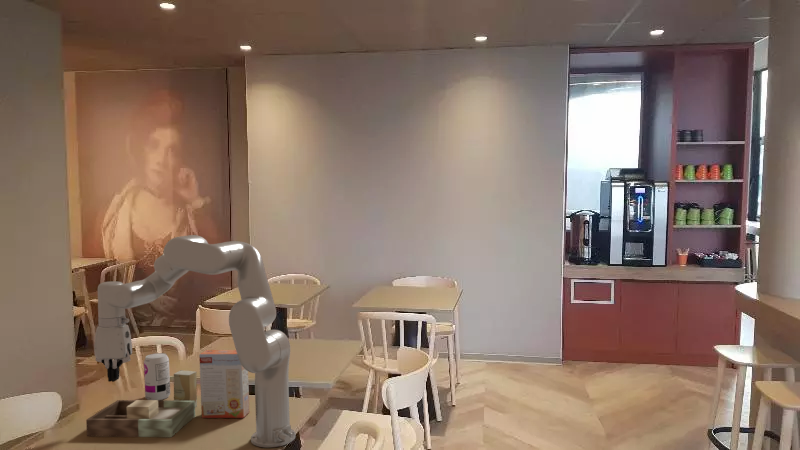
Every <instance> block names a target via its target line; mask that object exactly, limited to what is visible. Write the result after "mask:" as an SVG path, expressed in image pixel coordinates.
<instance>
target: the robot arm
mask: <svg viewBox="0 0 800 450" xmlns="http://www.w3.org/2000/svg"><path fill="white" fill-rule="evenodd" d="M153 268H154V272H152V273H151V274H149V275H148V276H147V277H145V278H144V279H141V280H134V281H132V282H126V283H123V282H122V281H118V280H117V281H114V280H113V281H105V282H101V283H99V284H98V286H97V312H98V320H97V321H98V325H97V326H96V330H95V334H94V345H93V348H94V349H93V351H94V356H95V361H96V362H98V363H101V364H102V365H104V367H105V369H106V373H107V381H108V382H109V383H110V382H116V381H118V380H119V379H120V367H122V365H123V364H125V363H128V362H131V355H132V354H133V344H132V343H133V341H132V336H131V329H130V326H129V325H128V323H130V318H127V317H126V316H127V315H126V309H133V308H136V307H138V306H143V305H146V304H149V303H152V302H154V301H155V300H157V299H158V298H160V297H161V296H163V295H164V294H165V293H167V292H168V291H169V290H171V289H172V287H173V286H174V285H175V283H176V281H178V280H179V279H180V278H182V277H183V276H184V275H186V274H187V273H188V272H190V271H191V272H195V273H199V274H205V275H212V276H213V275H219V274H220V275H221V274H223V273H228V272H231V271H236V272H237V278H236V280H237V281H236V282H237V284H236V285H237V289H238V292H239V295H240V300H238V301H237V302H235V303H234V304H233V305H232V307H231V308H230V311H229V314H228V325H229V330H230V333H231V338H232V341H233V343H234V347H235V350H236V352H237V355H238V358H239V361H240V363H241V365H242V366H243V367H244V368H245V369H246V370H247V371H248V373H252V374H254V394H255V395H254V402H255V425H256V426H255V428H256V432H254V433H253V434H251V437H250V442H251V444H252V445H254V446H256V447H260V448H266V449H267V448H276V447H277V448H278V447H282V446H285V445H289V444H290V443H291V442H293V441H294V440H295V439H296V431H295V430H294V429H292V425H291V424H290V391H289V389H290V387H289V384H290V381H289V366H290V357H291V343H290V340H289V337H288V335H286V333H284V332H283V331H281V330H279V329H269V330H265V327H267V326H269V325H271V324H272V323H273V322H274V321H275V319H276V317H277V307H276V304H275V300H274V298H273V294H272V291H271V287H270V286H271V285H270V283H269V280H268V277H267V273H266V269H265V264H264V261H263V257H262V256H261V254H260V251H258V249H257V248H256V247H255V246H253V245H252V244H250V243H248V242H244V241H238V240H232V241H230V240H229V241H224V242H218V243H209V242H208V240H207V239H205V238H204V237H203V236H200V235H197V234H189V235H183V236H176V237H173V238H171V239H170V240H168V241H167V242H166V243H165V245H164V247H163V254H162V255H161V254H160V256H158V257H157V258H156V259H155V260H154V263H153Z"/></svg>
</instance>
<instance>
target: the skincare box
mask: <svg viewBox="0 0 800 450" xmlns="http://www.w3.org/2000/svg"><path fill="white" fill-rule="evenodd" d="M197 377H198V376H197V371H196V370H195V371H192V370H178V371H177V372H175V373H173V401H195V408H197V407H198V401H197V400H198V398H197V397H198V395H197V394H198V390H197V386H198V385H197V384H198V383H197V382H198V381H197V380H198V379H197Z"/></svg>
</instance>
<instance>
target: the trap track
mask: <svg viewBox="0 0 800 450" xmlns="http://www.w3.org/2000/svg"><path fill="white" fill-rule="evenodd" d="M136 400H137V399H136ZM136 400H135V399H128V400H127V399H119V400H118V399H117V400H115V401H114V402H113V403H111V404H109V405H107V406H106V407H104V408H103V409H101V410H99V411H98V412H96V413H95V414H93V415H91V416H90V417H88V418H86V420H85V421H86V424H85V425H86V437H114V438H115V437H117V438H118V437H121V438H122V437H123V438H124V437H125V438H126V437H127V438H128V437H129V438H131V437H132V438H133V437H134V438H173V436H174V435H176V434H177V433H178V432H179V431H181V429H182V428H183V426H184V427H185V426H186V425H187V424H188V423H189V422H190V421H192V420H193V419H194V418H195V417H196V415H197V414H196V407H195V401H174V400H171V399H169V400H166V399H163V400H158V410H159V413H158V414H156V415H155V416H154V417H152V418H151V419H127V406H128V405H130V404H132V403H133V402H135V401H136ZM192 418H193V419H192ZM175 433H176V434H175Z"/></svg>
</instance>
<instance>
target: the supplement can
mask: <svg viewBox="0 0 800 450" xmlns="http://www.w3.org/2000/svg"><path fill="white" fill-rule="evenodd" d="M143 373H144V374H143V375H144V379H143V380H144V398H145V400H166V399H168V398H169V396H170V395H171V381H170V379H171V378H170V374H171V373H170V358H169V356H168V355H167V353H164V352H160V353H159V352H157V353H152V354H151V353H150V354H148V355H146V356H145V357H144V360H143Z"/></svg>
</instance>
